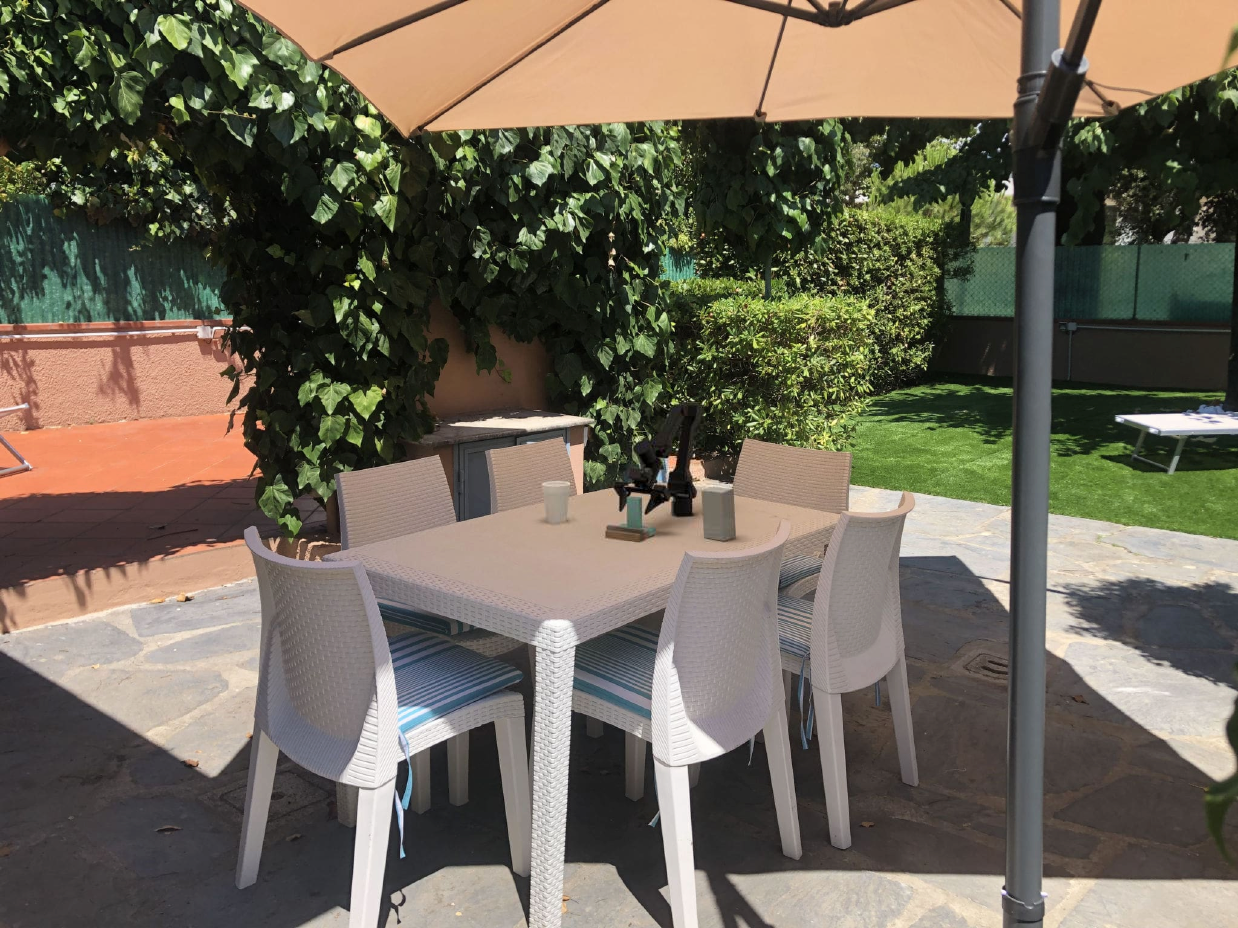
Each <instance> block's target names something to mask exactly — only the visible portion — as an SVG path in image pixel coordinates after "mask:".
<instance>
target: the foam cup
mask: <svg viewBox="0 0 1238 928" xmlns="http://www.w3.org/2000/svg"><path fill="white" fill-rule="evenodd" d="M541 491H542V495H543V501H544V507H545V513H546V514H545V515H546V520H547V521H546V522H547V523H548V524H554V525H555V524H563V523H564V524H565V523H566V522H567V517H568V509H569V499H570V492H571V483H570V481H569V482H568V481H563V480H562V481H561V480H559V481H557V480H553V481H547V482H546V481H545V482H542V483H541Z"/></svg>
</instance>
